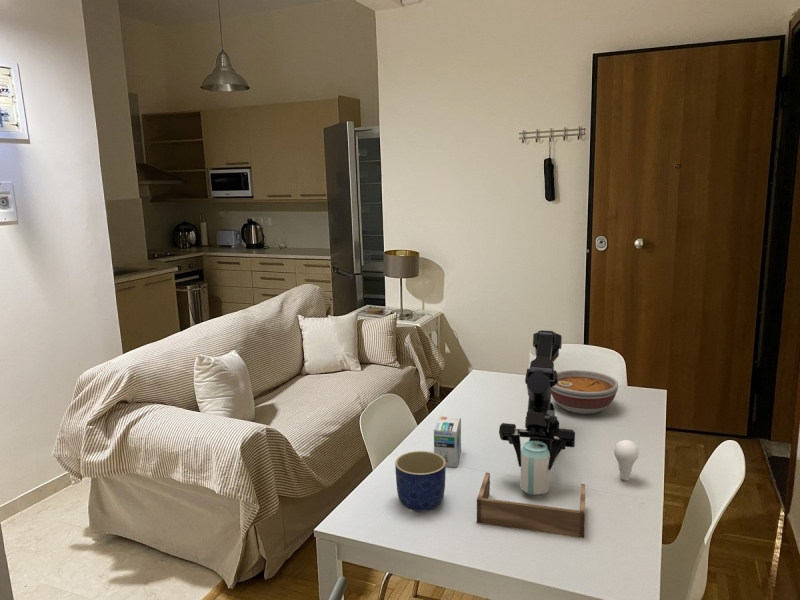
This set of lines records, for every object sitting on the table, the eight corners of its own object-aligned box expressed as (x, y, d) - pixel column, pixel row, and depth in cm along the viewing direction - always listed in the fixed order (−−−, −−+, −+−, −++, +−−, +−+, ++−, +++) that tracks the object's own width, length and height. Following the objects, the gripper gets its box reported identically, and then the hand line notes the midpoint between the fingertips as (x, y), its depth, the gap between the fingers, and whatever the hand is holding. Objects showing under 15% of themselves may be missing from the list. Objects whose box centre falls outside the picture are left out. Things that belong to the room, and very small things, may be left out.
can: (525, 479, 160) (526, 437, 158) (552, 486, 157) (553, 442, 154) (516, 492, 154) (517, 448, 152) (543, 499, 151) (545, 454, 148)
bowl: (537, 413, 207) (538, 385, 205) (558, 392, 226) (559, 366, 224) (607, 426, 195) (609, 396, 193) (623, 403, 214) (625, 375, 212)
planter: (386, 500, 154) (385, 460, 152) (424, 484, 161) (423, 446, 159) (417, 522, 144) (416, 479, 142) (456, 504, 152) (456, 463, 149)
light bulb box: (457, 468, 170) (457, 431, 168) (433, 466, 171) (433, 430, 169) (461, 451, 180) (461, 416, 178) (438, 449, 182) (438, 415, 179)
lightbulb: (636, 476, 163) (639, 437, 161) (637, 487, 158) (639, 447, 155) (612, 473, 165) (614, 434, 163) (612, 483, 160) (614, 444, 157)
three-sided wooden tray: (485, 494, 156) (485, 472, 155) (584, 506, 149) (585, 484, 148) (476, 522, 143) (476, 499, 142) (583, 538, 136) (584, 513, 135)
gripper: (500, 393, 157) (493, 452, 149) (576, 399, 151) (573, 461, 144) (504, 410, 166) (497, 467, 158) (575, 417, 160) (573, 476, 153)
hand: (534, 467), depth 153 cm, fingers closed on can, 7 cm apart
